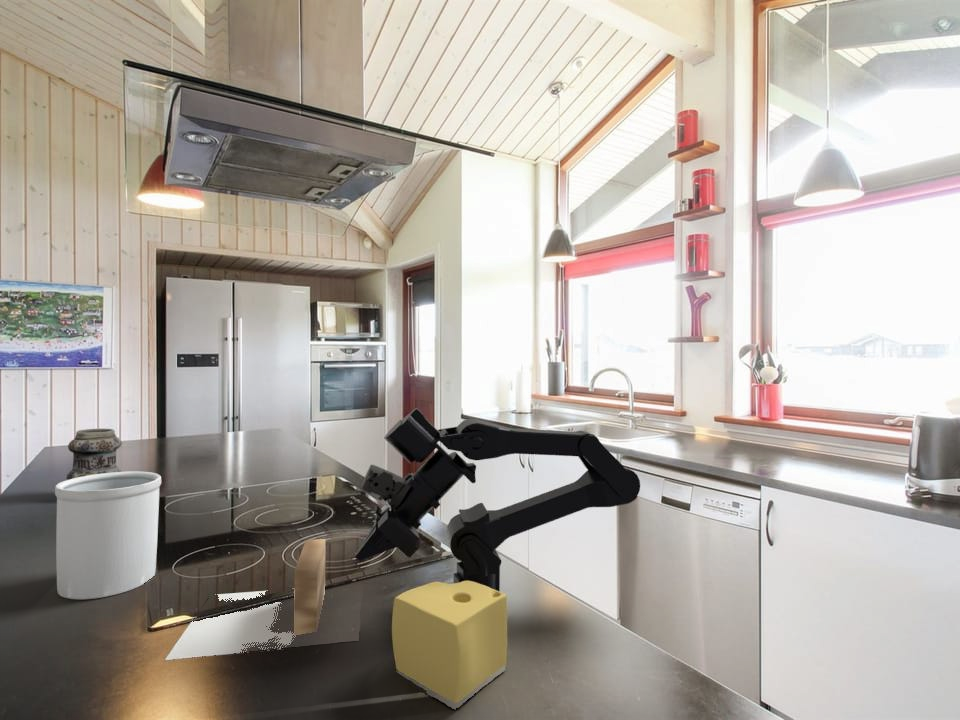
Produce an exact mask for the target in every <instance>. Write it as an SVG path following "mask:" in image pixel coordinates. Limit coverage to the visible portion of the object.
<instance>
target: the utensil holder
mask: <svg viewBox="0 0 960 720" xmlns="http://www.w3.org/2000/svg"><path fill="white" fill-rule="evenodd" d="M161 485H162V476H161V475H160V474H158V473H156V472H151V471H139V470H138V471H136V470H135V471H133V470H132V471H121V472H112V473H103V474H94V475H88V476H82V477H77V478H73V479H69V480H67V479H66V480H64V481H61V482H58V483H57V484H55V487H54V495H55V496H56V530H55V532H56V535H55V537H56V539H55V540H56V542H55V543H56V544H55V545H56V546H55V547H56V551H55V552H56V553H55V554H56V555H55V560H56V563H55V564H56V565H55V566H56V567H55V568H56V590H57V594H58V595H59V596H60V597H62V598H65V599H69V600H92V599H93V600H94V599H100V598H106V597H110V596H111V597H112V596H115V595H119V594H123V593H126V592H130V591H131V590H134V589H136V588H139V587H141V586H143V585H145V584H146V583H145V582H147V581H148V580H149V579H151V578H152V577H153V576H154V577H155V575H156V565H157V555H158V554H157V553H158V552H157V551H158V550H157V549H158V533H159V532H158V531H159V529H158V528H159V512H160V511H159V510H160V509H159V507H160V487H161ZM154 577H153V578H154ZM153 578H152V579H153ZM152 579H151V580H152ZM149 581H150V580H149ZM149 581H148V582H149ZM148 582H147V583H148ZM144 583H145V584H144Z"/></svg>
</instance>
